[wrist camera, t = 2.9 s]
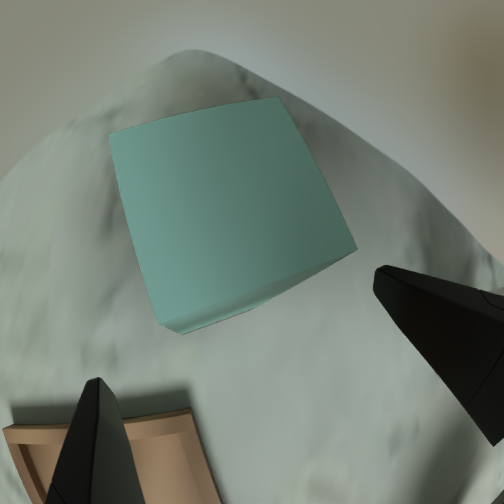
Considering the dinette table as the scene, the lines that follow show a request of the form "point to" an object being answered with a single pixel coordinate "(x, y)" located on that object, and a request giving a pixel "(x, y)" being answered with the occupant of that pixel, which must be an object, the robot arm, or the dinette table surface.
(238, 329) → the dinette table surface
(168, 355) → the dinette table surface
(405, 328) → the robot arm
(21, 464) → the walnut tray
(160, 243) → the teal block
